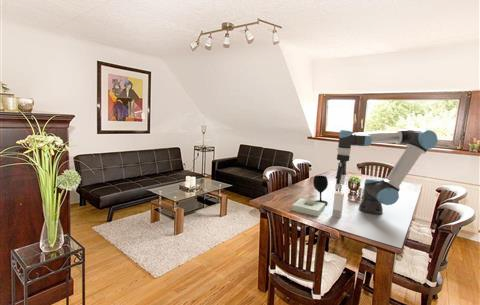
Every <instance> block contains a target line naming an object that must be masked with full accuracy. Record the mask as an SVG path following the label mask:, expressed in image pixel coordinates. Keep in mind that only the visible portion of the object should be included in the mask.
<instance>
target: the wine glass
mask: <svg viewBox="0 0 480 305" xmlns="http://www.w3.org/2000/svg"><path fill="white" fill-rule="evenodd" d="M328 181H329V180H328V177H327V176H326V175H315V176H314V177H313V187H314V189H315V190H316V191H317V192H318V193H319V199H318V200H315V201H316V202H321V203H325V205H328V202H329V201H326V200H322V193H323V192H324V191H326V189H327V188H328V185H329V182H328Z"/></svg>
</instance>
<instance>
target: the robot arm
mask: <svg viewBox="0 0 480 305" xmlns="http://www.w3.org/2000/svg"><path fill="white" fill-rule="evenodd" d="M384 143H385V144H387V143H388V144H390V143H391V144H392V143H393V144H394V143H395V144H396V145H405V146H406V149H405V150H404V151H403V153H402V155H401V156H400V157H399V159H398V161H396V163H395V165H394V166H393V168H392V169H391V171H390V172H389V174H388V175H387V177H386V178H384V179H378V178H366V179H365V181H364V187H363V195H362V200H361V201H360V203H359V207H358V209H359V211H361V212H364V213H367V214H370V215H382V214H383V210H384V209H383V205H384V206H390V205H391V206H392V205H394V204H396V203H397V202H398V200H399V198H400V196H399V192H400V190H401V188H400V185H402V183H403V182H404V180H405V178H406V177H407V176H408V174H409V172H411V169H413V167H414V165H416V163H417V161H418V159H419V158H420V157H421V156H422V155H424V154H426V153H427V151H429V150H431V149H433V148H435V147H436V146H437V144H438V136H437V133H435V131H434V130H431V129H427V128H425V129H423V128H407V129H406V128H405V129H396V130H394V131H366V132H365V131H363V132H361V131H360V132H353V130H347V129H341V130H340V131H339V135H338V144H337V145H338V146H337V148H336V150H337V155H336V160H337V161H339V162H338V164H337V165H338V166H337V169H336V170H337V171H336V176H334V178H335V179H336V180H335V189H338V190H341V185H345V180H346V179H345V178H346V175H347V162H350V155H351V150H352V146H353V147H357V146H358V147H370V146H371V144H384Z"/></svg>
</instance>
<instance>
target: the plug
mask: <svg viewBox="0 0 480 305" xmlns="http://www.w3.org/2000/svg"><path fill="white" fill-rule="evenodd" d="M344 196H345V192H342V191H337V190H336V191H335V192H334V197H333V205H332V206H333V207H332V216H331V217H332V218H338V219H341V218H342V215H343V206H344V199H345V198H344Z"/></svg>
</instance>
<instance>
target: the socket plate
mask: <svg viewBox="0 0 480 305" xmlns="http://www.w3.org/2000/svg"><path fill="white" fill-rule="evenodd" d="M291 205H292V206H291V211H293V212H297V213H301V214H306V215H309V216H310V215H311V216H314V217H319V216H320V215H321V214H322V213H323V212H324V211H325V209H326V204H325V203H321V202H316V200H311V199H307V198H301V197H300V198H299V199H298V200H297V201H295V202H294V203H292V204H291Z"/></svg>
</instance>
